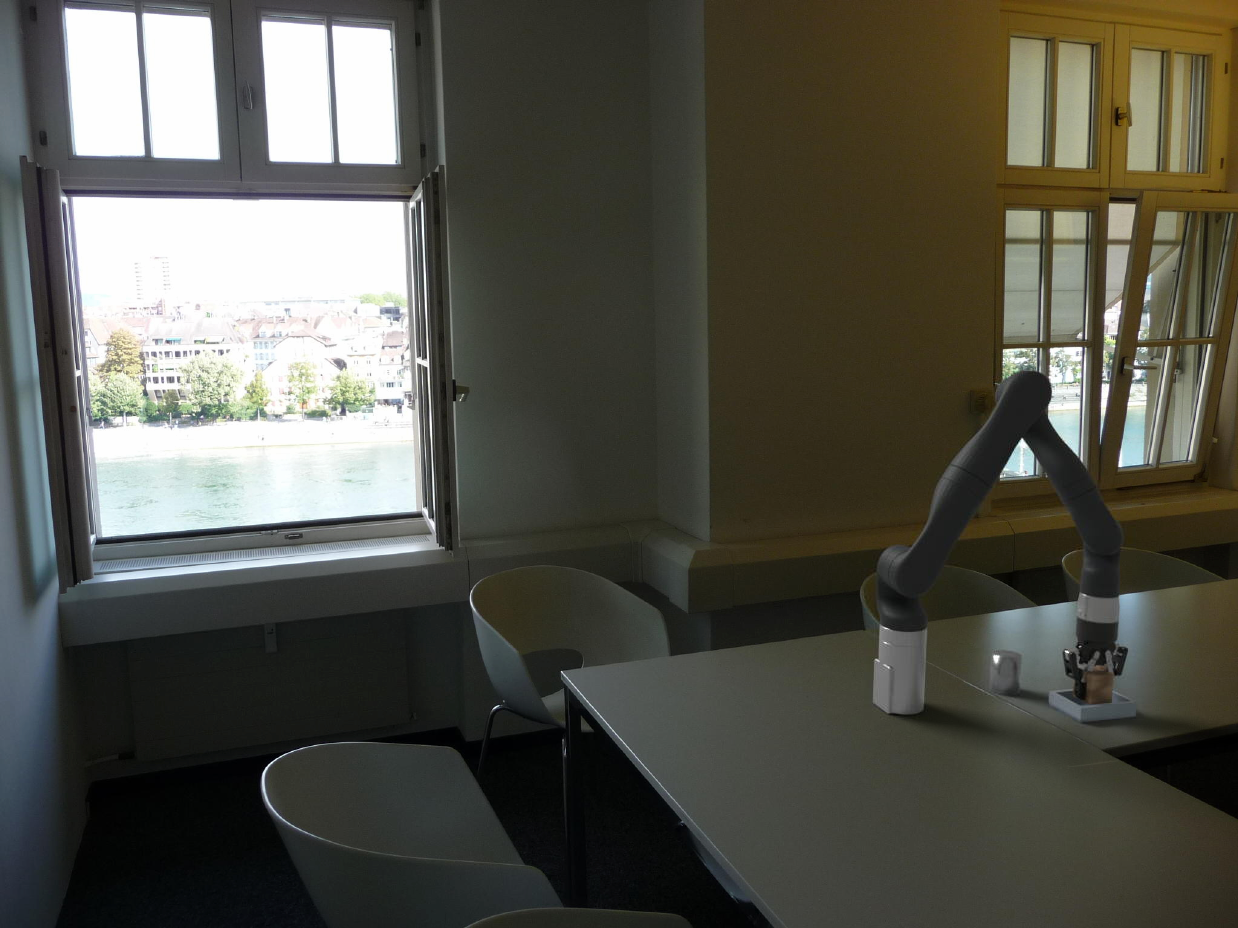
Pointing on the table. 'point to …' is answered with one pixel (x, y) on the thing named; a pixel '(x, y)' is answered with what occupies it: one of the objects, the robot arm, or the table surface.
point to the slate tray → (1092, 707)
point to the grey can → (1005, 672)
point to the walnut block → (1098, 686)
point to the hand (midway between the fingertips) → (1092, 696)
